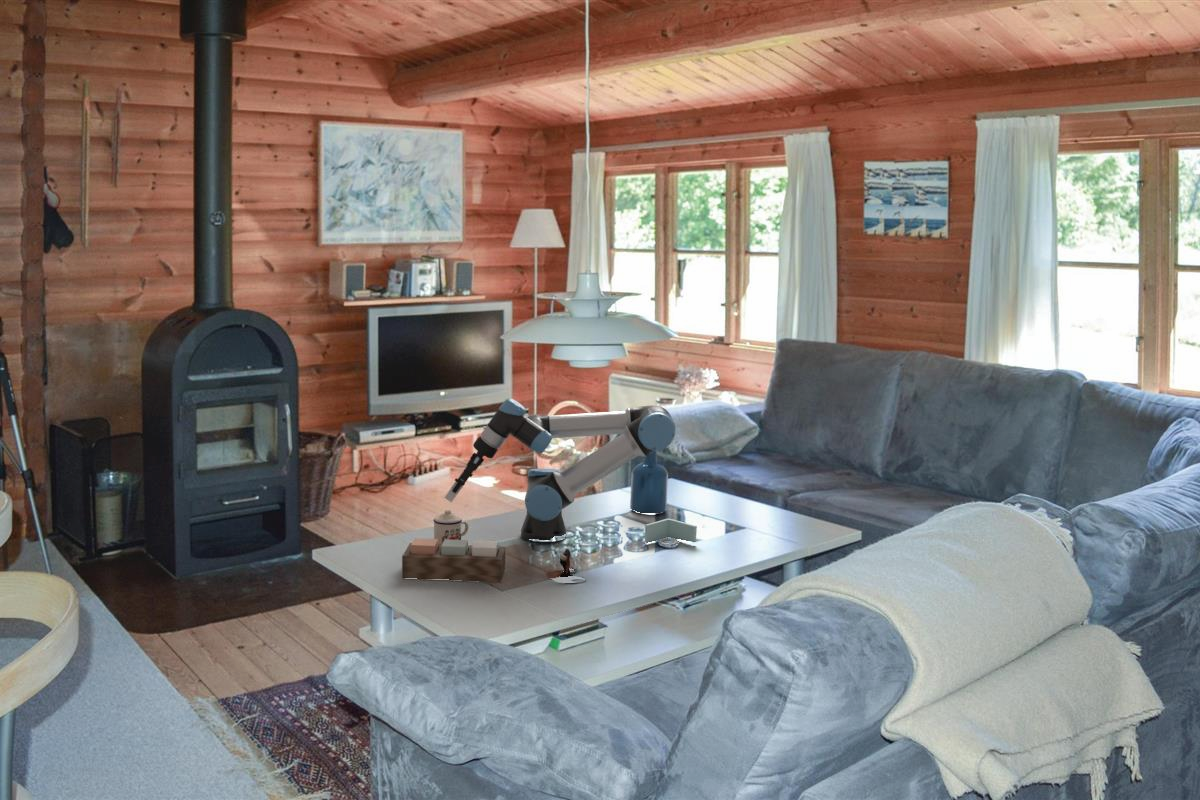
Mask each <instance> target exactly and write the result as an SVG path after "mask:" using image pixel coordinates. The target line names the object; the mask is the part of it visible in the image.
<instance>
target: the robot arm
mask: <svg viewBox="0 0 1200 800" xmlns="http://www.w3.org/2000/svg"><path fill="white" fill-rule="evenodd" d="M526 413H527V409H526V407H525V406H524V405H522V404H521V403H520V402H518V401H517V400H515V399H514V398H507V399H505V400H504V402H503V403H502V404H501V405H500V406H499V407H498V409H497V411H496V412H495V413H494V415H493V416H492V418H491V419H490V420H489V422H488V423H487V424H486V426H485V425H484V426H483V427H482V428H483V430H482V432H481V433H480V436H478V437H477V438H476V440H475V441H474V442H473V445H472V446H473V448H474V449H475V450H476V451H477V452H473V454H472V455H471V457H470V459H469V460H468V462H467V464H466V466H465V468H464V469H463V471H462V472H461V473H460V475H459V476H458V477H455V479H454V483H453V485H452V486H451V487H450V489H449V490H448V491H447V493H446V494H445V496H444V498H445V500H448V502H449V503H453V501H454V500H455V498H456V497H457V495H458V494H459V493H460V491H461V489H462V488H463V487H464V486H465V485H466V483H467V481H468V480H469V478H472V477H473V475H474V474H473V473H474V472H475V471H477V469H478V468H479V467H480V466H481V465H482V464H483V462H484V460H485V459H484V458H483V457H486V458H488V459H493V458H494V457H495V455H496V454H497V452H498V451H499V449H500V448H502V446H503V444H504V443H505V442H506V440H507V439H508V438H509V436H510V435H511V437H514V438H515V439H516V440H518V441H519V442H520V443H521V444H523V445H525V446H526V447H527V448H529V449H530V451H533V452H535V453H537V454H539V455H540V454H543V453H544V452H545V450H546V449H548V446H549V445H550V444H551V442H552V440H553V439H561V438H577V437H593V436H597V437H598V436H612V435H613V436H615V435H617V437H614V439H612V440H610V441H608V443H606V444H604V445H602V446H601V447H600V448H598V449H596V450H595V451H593V452H592V453H590V454H589V455H586V456H585V457H583V458H582V459H580V460H579V461H577V462H575V463H574V464H573V465H571V466H569V467H568V468H566V469H564V470H563V471H562V470H561V469H556V468H543V467H542V468H531V469H529V470H528V471H527V477H526V479H527V486H526V492H525V496H524V504H525V505H524V506H525V508H526V515H525V518H524V519H523V523H522V527H521V530H520V537H521V536H522V537H523V538H522V537H521V538H522V539H523V540H525V541H528V540H529V539H539V540H550V539H551V538H553V537H554V536H562V535H564V534H566V535H567V528H566V525H565V522H564V518H563V509H565V508H566V507H568V506H570V505H571V504H572V503H574V502H575V498H576V496H577V495H578V494H580V493H581V492H583V491H585V490H586V489H588V488H589V487H592V485H594V484H596V483H597V482H598V481H600V480H602V479H604V478H605V477H607V476H608V475H610V474H612V473H613V472H615V471H616V470H618V469H619V468H621V467H623V466H624V465H626V464H627V463H629V462H631V461H633V460H634V459H636V458H637V457H639V456H640V457H646V456H648V455H649V454H651V453H652V452H654V451H656V452H658V451H662V450H665V449H667V447H669V446H671V444H672V443H673V442H674V439H675V435H676V424H675V422H674V420H673V418H672V415H671V414H670V412H669V411H668V410H667V409H666V408H664V407H662V406H659V405H654V404H653V405H642V406H633V407H630V406H629V407H627V408H626V409H625V410H618V411H603V412H602V411H601V412H586V413H585V412H583V413H570V414H557V415H556V414H553V415H552V414H551V415H540V414H536V413H535V414H530V415H528V416H526Z"/></svg>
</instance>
